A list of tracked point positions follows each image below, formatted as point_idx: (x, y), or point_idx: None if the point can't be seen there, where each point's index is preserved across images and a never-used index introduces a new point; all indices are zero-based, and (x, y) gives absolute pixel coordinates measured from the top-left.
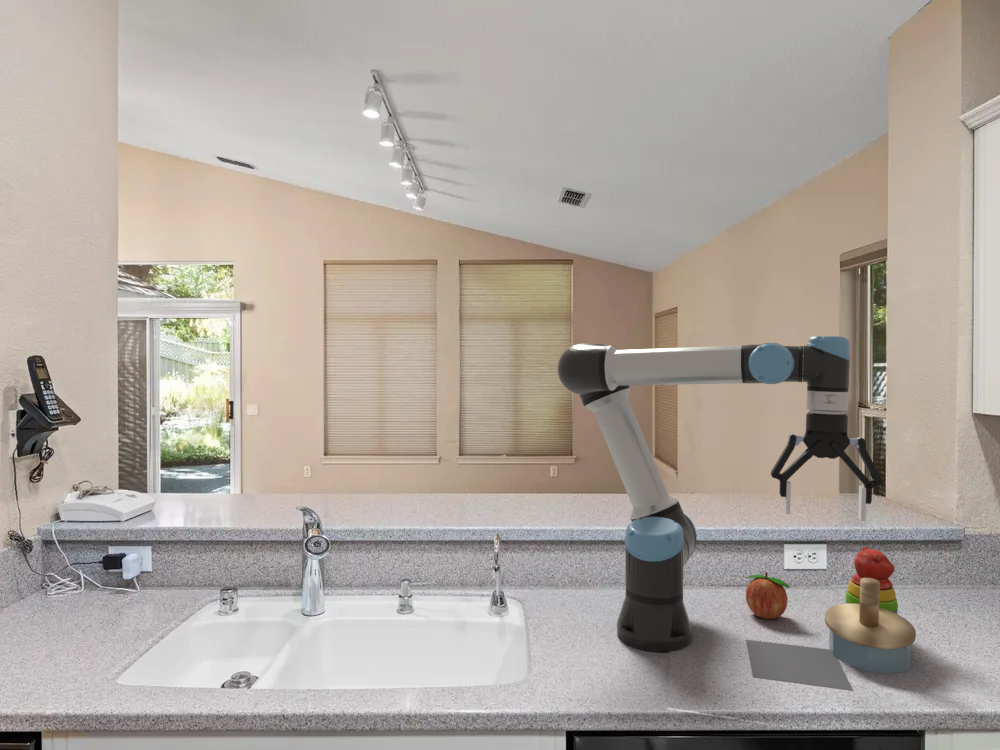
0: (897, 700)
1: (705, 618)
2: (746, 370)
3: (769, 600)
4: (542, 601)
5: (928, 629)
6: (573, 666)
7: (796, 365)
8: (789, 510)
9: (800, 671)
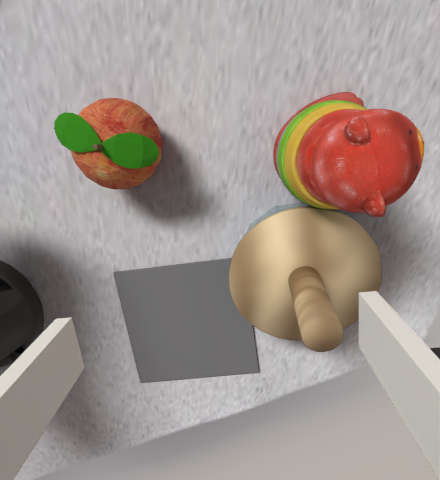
0: (308, 371)
1: (33, 203)
2: None
3: (126, 188)
4: None
5: (436, 68)
6: None
7: None
8: (75, 379)
9: (196, 347)
